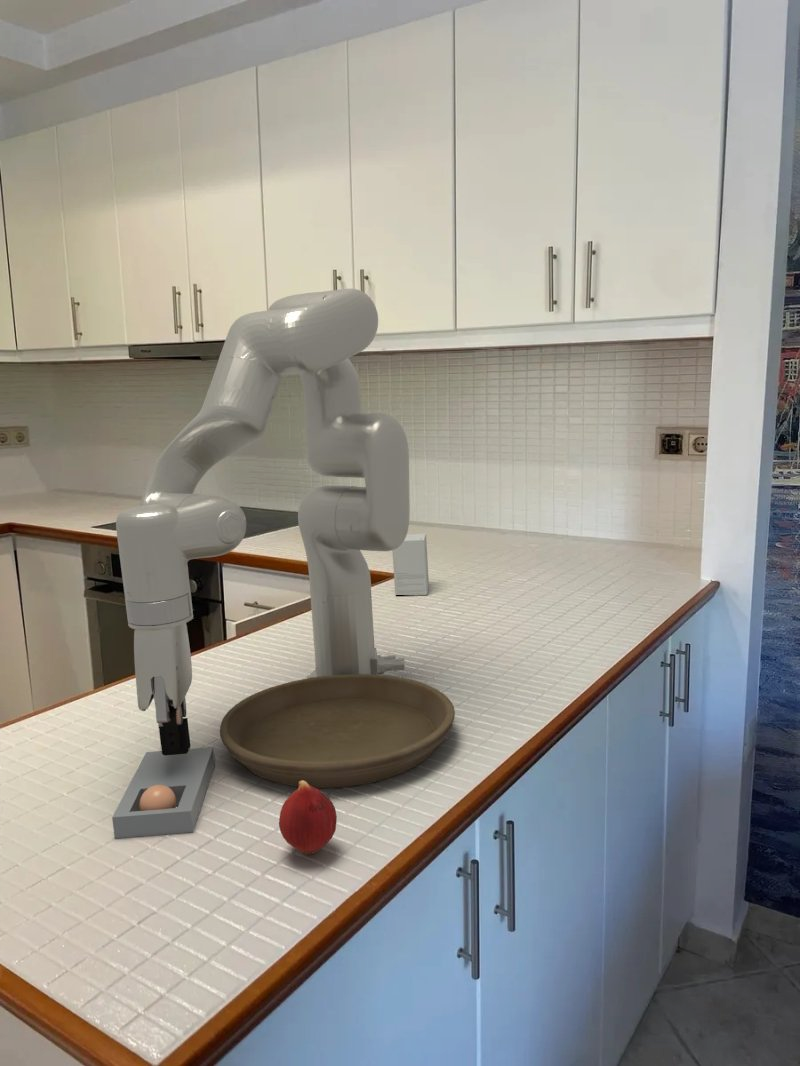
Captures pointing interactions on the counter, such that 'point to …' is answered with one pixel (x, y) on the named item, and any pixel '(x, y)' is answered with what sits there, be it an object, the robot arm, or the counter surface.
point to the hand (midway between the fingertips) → (176, 751)
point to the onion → (307, 819)
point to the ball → (157, 798)
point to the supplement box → (411, 566)
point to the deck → (181, 776)
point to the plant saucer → (337, 729)
